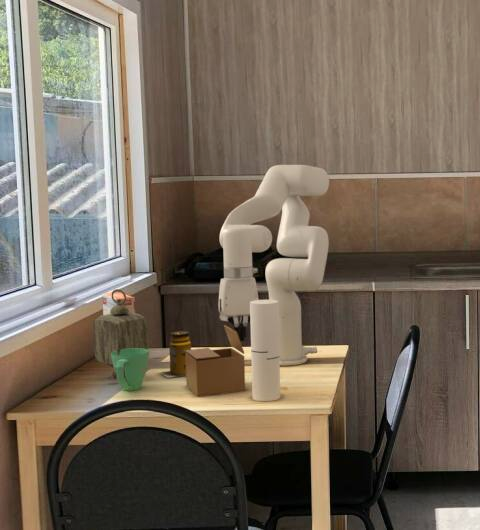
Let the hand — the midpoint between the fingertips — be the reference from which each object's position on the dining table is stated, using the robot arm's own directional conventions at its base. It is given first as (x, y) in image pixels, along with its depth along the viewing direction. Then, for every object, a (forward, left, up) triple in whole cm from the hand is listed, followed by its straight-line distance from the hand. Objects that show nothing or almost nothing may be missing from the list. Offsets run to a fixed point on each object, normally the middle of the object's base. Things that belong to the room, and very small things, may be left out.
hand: (239, 340), depth 240 cm
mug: (+28, -9, -13) cm, 32 cm away
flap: (+2, 0, 0) cm, 2 cm away
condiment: (+12, -22, -13) cm, 28 cm away
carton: (+7, 0, -13) cm, 14 cm away
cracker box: (+24, -45, -13) cm, 53 cm away
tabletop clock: (+27, -27, -13) cm, 40 cm away
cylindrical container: (-2, +15, -13) cm, 20 cm away
